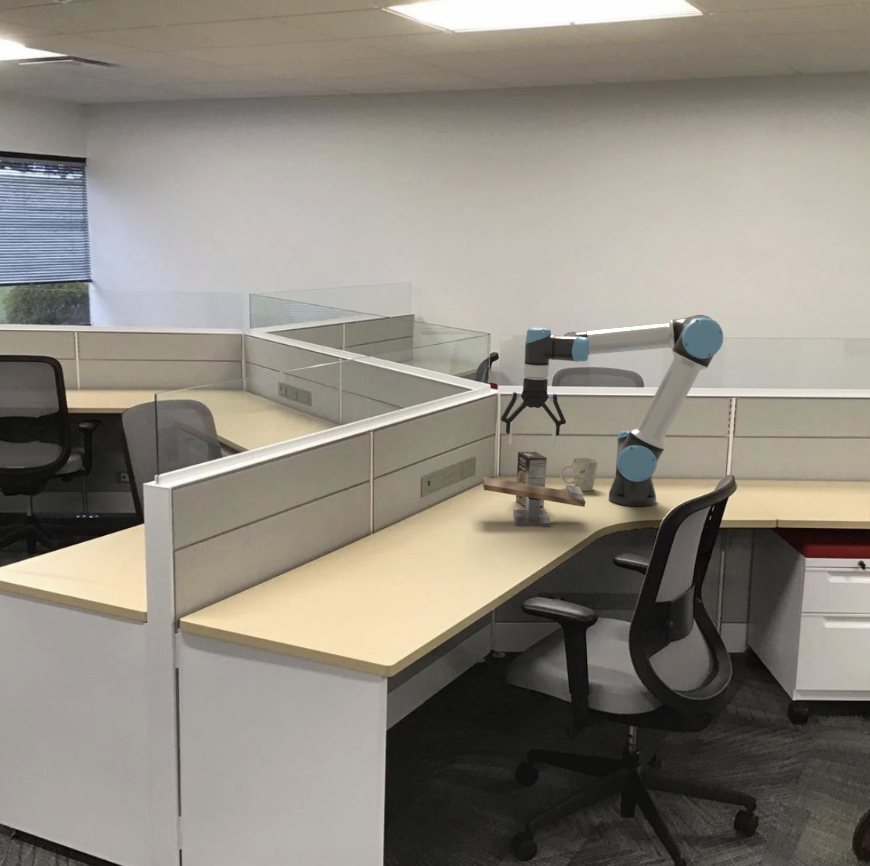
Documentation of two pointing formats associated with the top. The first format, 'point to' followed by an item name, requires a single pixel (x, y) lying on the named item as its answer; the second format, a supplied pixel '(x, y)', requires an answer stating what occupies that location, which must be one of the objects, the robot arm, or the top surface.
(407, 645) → the top surface
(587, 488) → the mug
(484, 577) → the top surface
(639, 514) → the top surface
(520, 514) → the pivot stand
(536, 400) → the robot arm
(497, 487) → the beam
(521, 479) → the coffee box
